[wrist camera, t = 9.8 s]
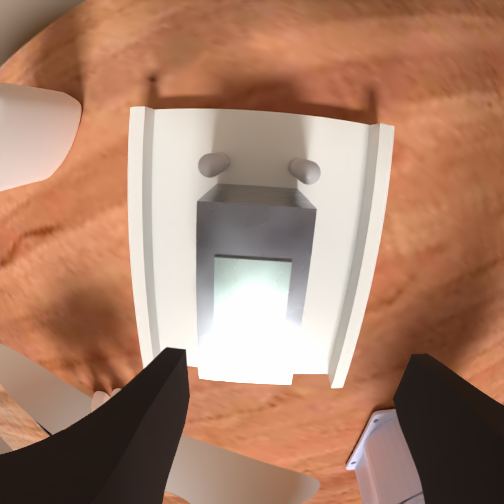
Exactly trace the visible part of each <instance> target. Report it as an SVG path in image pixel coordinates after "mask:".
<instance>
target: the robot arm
mask: <svg viewBox="0 0 504 504" xmlns="http://www.w3.org/2000/svg"><path fill="white" fill-rule="evenodd" d="M189 398H190V394H189V382H188V370H187V356H186V349H179V348H171V347H166V348H165V349H163V350H162V351H161V352H160V353H159V354H158V355H157V356H156V357H155V358H154V359H153V360H152V361H151V362H150V363H149V364H148V365H147V366H146V367H145V368H144V369H143V370H142V371H141V372H140V373H139V374H138V375H137V376H136V377H134V378H133V379H132V380H131V381H130V382H129V383H128V384H127V385H126V386H125V387H123V388H122V389H121V390H120V391H119V392H117V393H116V394H115V395H114V396H112V397H111V398H110V399H109V400H107V401H106V402H105V403H104V404H102V405H101V406H100V407H98V408H97V409H96V410H94V411H93V412H91V413H90V414H88V415H87V416H85V417H84V418H82V419H81V420H79V421H78V422H76V423H74V424H73V425H71V426H69V427H67V428H65V429H64V430H62V431H60V432H58V433H56V434H54V435H52V436H50V437H48V438H46V439H44V440H41V441H39V442H37V443H34V444H32V445H29V446H26V447H24V448H21V449H18V450H15V451H12V452H9V453H5V454H1V455H0V504H162V501H163V496H164V490H165V486H166V483H167V479H168V475H169V472H170V469H171V466H172V463H173V460H174V456H175V453H176V450H177V447H178V444H179V440H180V437H181V434H182V431H183V428H184V425H185V420H186V415H187V409H188V404H189ZM393 400H394V405H395V409H389V410H380V411H376V412H374V413H373V414H372V415H371V418H370V420H369V422H368V424H367V426H366V428H365V430H364V432H363V434H362V436H361V438H360V440H359V442H358V444H357V446H356V448H355V449H354V451H353V453H352V455H351V457H350V459H349V460H348V462H347V464H346V466H345V467H346V469H347V470H352V469H355V473H356V477H357V481H358V486H359V490H360V494H361V499H362V503H363V504H504V405H502V404H500V403H499V402H497V401H495V400H494V399H492V398H491V397H489V396H488V395H486V394H484V393H483V392H481V391H480V390H479V389H477V388H476V387H474V386H473V385H471V384H470V383H469V382H467V381H466V380H464V379H463V378H462V377H460V376H459V375H457V374H456V373H455V372H453V371H452V370H450V369H449V368H448V367H446V366H445V365H443V364H442V363H441V362H439V361H438V360H436V359H435V358H433V357H431V356H430V355H428V354H414V355H411V358H410V360H409V363H408V365H407V368H406V370H405V373H404V375H403V377H402V380H401V382H400V384H399V387H398V389H397V391H396V394H395V396H394V398H393Z"/></svg>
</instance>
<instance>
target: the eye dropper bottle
mask: <svg viewBox="0 0 504 504" xmlns="http://www.w3.org/2000/svg"><path fill="white" fill-rule="evenodd" d="M81 112H82V108H81V104H80V103H79V101H77V100H76V99H75V98H73V97H71V96H70V95H68V94H66V93H64V92H59V91H54V90H49V89H43V88H37V87H30V86H24V85H16V84H9V83H0V191H3V190H7V189H11V188H14V187H18V186H22V185H25V184H29V183H33V182H37V181H41V180H45V179H47V178H49V177H50V176H51V175H52V174H53V173H54V172H55V171H56V170H57V169H58V168H59V166H60V165H61V164H62V162H63V161H64V159H65V158H66V156H67V154H68V152H69V151H70V149H71V146H72V144H73V142H74V139H75V137H76V134H77V131H78V127H79V123H80V118H81Z"/></svg>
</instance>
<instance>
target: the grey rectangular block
mask: <svg viewBox="0 0 504 504" xmlns="http://www.w3.org/2000/svg"><path fill="white" fill-rule="evenodd" d="M316 212H317V209H316V208H315V207H314V205H313V204H312V203H311V202H310V201H309V200H308V199H307V198H306V197H305V196H304V195H303V194H302V193H301V192H300V191H299V190H298V189H294V188H281V187H268V186H253V185H236V184H216V185H215V186H214V187H212V188H211V189H210V190H209V191H208V192H207V193H206V194H204V195H203V196H202V197H201V198H200V199H199V200H198V201H197V215H196V305H197V342H198V366H199V378H201V379H210V380H221V381H234V382H248V383H268V384H291V380H292V375H293V369H294V364H295V358H296V353H297V347H298V341H299V335H300V329H301V323H302V317H303V310H304V304H305V297H306V290H307V284H308V276H309V269H310V262H311V254H312V246H313V238H314V230H315V221H316Z"/></svg>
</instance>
